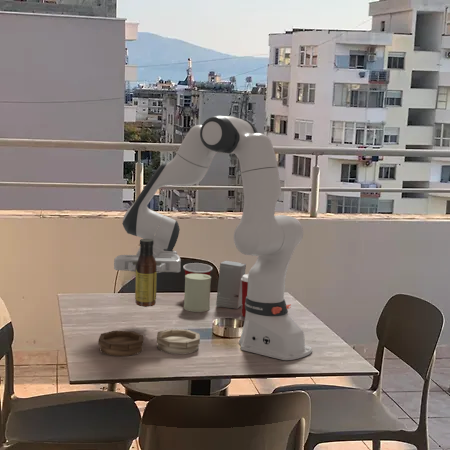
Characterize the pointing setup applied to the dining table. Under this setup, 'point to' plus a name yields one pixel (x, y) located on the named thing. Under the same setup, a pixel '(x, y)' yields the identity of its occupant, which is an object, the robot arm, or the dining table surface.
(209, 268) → the plastic cup
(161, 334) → the birch ring seat
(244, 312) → the paper cup
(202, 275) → the can
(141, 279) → the sauce bottle
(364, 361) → the dining table surface
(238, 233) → the robot arm
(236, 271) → the skincare box
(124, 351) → the walnut ring seat
